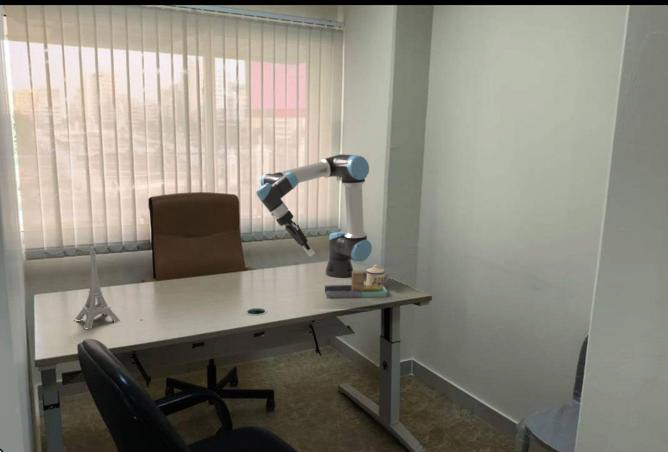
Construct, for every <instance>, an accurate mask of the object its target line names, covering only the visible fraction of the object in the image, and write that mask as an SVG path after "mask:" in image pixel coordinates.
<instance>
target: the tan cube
mask: <svg viewBox="0 0 668 452" xmlns="http://www.w3.org/2000/svg"><path fill="white" fill-rule="evenodd" d="M364 292H372V287H371V285H366V284H364Z"/></svg>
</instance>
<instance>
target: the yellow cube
mask: <svg viewBox="0 0 668 452" xmlns="http://www.w3.org/2000/svg"><path fill="white" fill-rule="evenodd" d="M371 287H372V292H381V291H380V286H379V285H371Z"/></svg>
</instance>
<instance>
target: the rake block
mask: <svg viewBox="0 0 668 452" xmlns="http://www.w3.org/2000/svg"><path fill="white" fill-rule="evenodd" d="M351 285H352V288H351V291H361V292H364V285H365V273H364V271H361V270H360V271H358V270H357V271H356V270H355V271H354V270H353V271H352V276H351Z"/></svg>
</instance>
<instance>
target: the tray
mask: <svg viewBox="0 0 668 452" xmlns="http://www.w3.org/2000/svg"><path fill="white" fill-rule="evenodd" d="M388 296H389V292H388V290H387V289H386V287H385V285H384V286H380V292H361V297H362V298H371V297H372V298H373V297H374V298H377V297H378V298H379V297H380V298H381V297H383V298H384V297H388Z"/></svg>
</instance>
